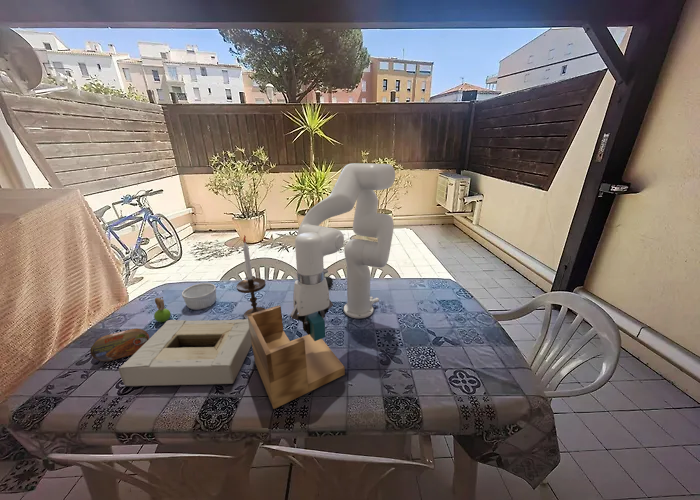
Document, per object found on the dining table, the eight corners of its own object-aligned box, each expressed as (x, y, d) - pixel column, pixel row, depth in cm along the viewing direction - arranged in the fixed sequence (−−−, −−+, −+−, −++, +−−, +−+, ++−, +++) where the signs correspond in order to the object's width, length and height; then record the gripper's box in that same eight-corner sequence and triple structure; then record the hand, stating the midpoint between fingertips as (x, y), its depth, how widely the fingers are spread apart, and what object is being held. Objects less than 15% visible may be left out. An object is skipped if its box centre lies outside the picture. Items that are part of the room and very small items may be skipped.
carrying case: (300, 289, 132) (329, 291, 131) (299, 284, 131) (329, 285, 130) (305, 279, 142) (333, 281, 141) (305, 274, 141) (333, 276, 140)
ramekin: (223, 302, 121) (220, 289, 119) (192, 315, 112) (188, 300, 110) (210, 293, 130) (208, 280, 127) (180, 304, 120) (177, 290, 118)
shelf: (316, 338, 98) (314, 294, 92) (344, 374, 82) (344, 325, 76) (254, 362, 87) (247, 314, 81) (273, 409, 71) (266, 354, 65)
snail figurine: (161, 327, 105) (153, 300, 100) (153, 322, 108) (145, 295, 104) (176, 320, 109) (169, 294, 105) (167, 315, 112) (160, 290, 108)
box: (258, 333, 101) (170, 335, 100) (255, 316, 98) (165, 317, 97) (236, 385, 79) (123, 388, 78) (232, 365, 77) (115, 367, 75)
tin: (94, 365, 86) (85, 343, 83) (98, 358, 89) (89, 337, 86) (151, 349, 93) (144, 329, 90) (152, 344, 96) (146, 324, 93)
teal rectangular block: (312, 322, 88) (311, 306, 86) (325, 337, 81) (324, 320, 79) (302, 325, 86) (301, 309, 84) (314, 341, 79) (313, 324, 77)
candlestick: (273, 316, 111) (263, 235, 99) (246, 326, 105) (232, 240, 93) (263, 305, 119) (253, 228, 107) (238, 313, 113) (224, 233, 101)
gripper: (330, 265, 84) (331, 315, 91) (278, 277, 76) (283, 332, 82) (342, 274, 78) (342, 327, 85) (287, 288, 70) (292, 346, 76)
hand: (313, 329), depth 83 cm, fingers closed on teal rectangular block, 3 cm apart
